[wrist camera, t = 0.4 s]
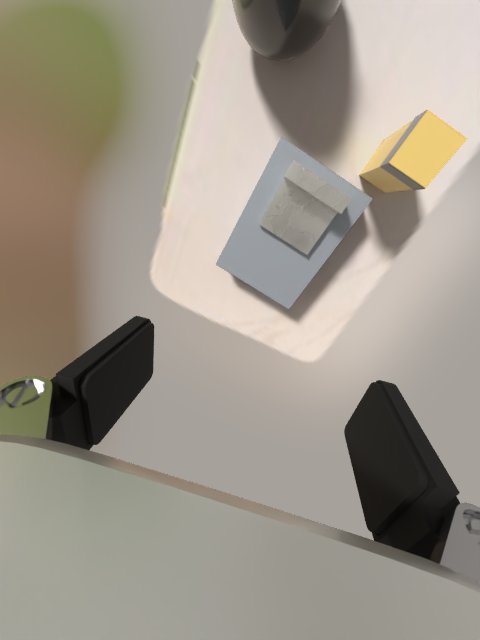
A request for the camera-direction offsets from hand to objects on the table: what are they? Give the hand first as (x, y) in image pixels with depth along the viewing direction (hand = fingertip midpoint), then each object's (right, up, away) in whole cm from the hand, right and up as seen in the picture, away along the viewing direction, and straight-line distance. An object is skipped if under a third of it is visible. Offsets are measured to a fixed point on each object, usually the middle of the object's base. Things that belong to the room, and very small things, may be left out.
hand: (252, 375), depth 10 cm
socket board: (+6, +15, +24) cm, 29 cm away
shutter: (+7, +15, +18) cm, 24 cm away
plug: (+17, +21, +19) cm, 33 cm away
